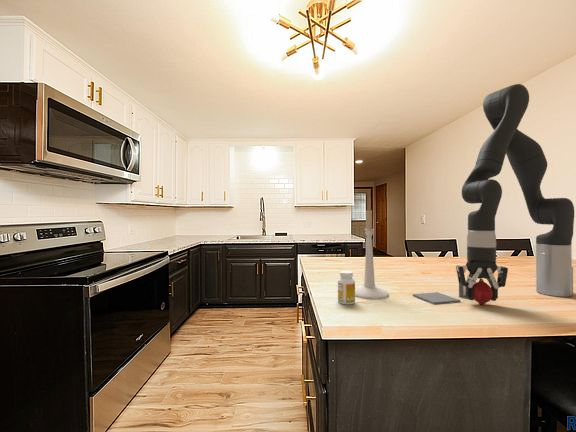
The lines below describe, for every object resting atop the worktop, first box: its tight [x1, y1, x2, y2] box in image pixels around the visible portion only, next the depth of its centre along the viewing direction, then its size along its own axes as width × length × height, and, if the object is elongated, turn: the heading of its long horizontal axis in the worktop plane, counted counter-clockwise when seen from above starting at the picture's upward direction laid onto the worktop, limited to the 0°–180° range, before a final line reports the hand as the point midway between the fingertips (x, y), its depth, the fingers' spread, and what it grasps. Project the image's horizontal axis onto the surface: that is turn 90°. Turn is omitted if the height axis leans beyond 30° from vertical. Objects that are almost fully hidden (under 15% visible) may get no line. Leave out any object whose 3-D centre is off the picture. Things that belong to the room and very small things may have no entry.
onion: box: [472, 278, 493, 306], centre depth 91 cm, size 6×6×8 cm
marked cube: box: [458, 279, 477, 299], centre depth 100 cm, size 5×5×5 cm
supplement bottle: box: [337, 270, 356, 305], centre depth 94 cm, size 5×5×10 cm
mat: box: [412, 291, 461, 305], centre depth 98 cm, size 10×10×1 cm
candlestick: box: [355, 209, 390, 300], centre depth 104 cm, size 13×13×30 cm
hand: (481, 299), depth 91 cm, fingers closed on onion, 5 cm apart
